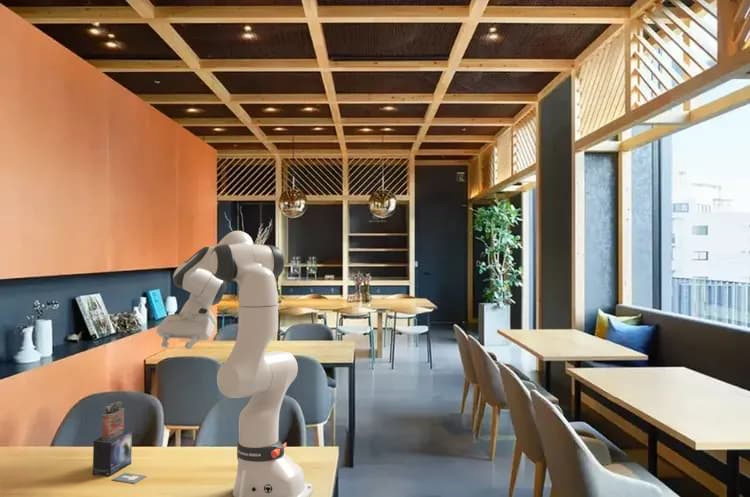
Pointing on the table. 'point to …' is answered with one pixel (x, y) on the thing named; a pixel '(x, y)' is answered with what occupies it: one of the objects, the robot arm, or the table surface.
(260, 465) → the robot arm
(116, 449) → the small box
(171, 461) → the table surface
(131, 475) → the card
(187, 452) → the table surface
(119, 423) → the lighter
